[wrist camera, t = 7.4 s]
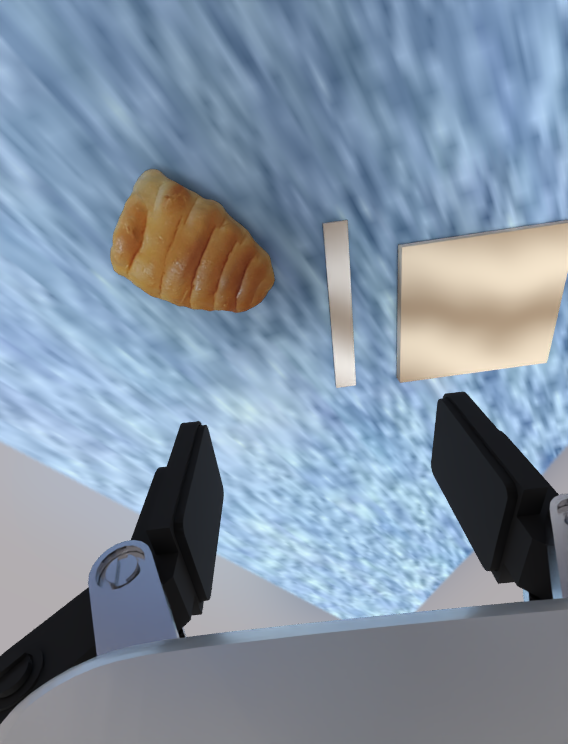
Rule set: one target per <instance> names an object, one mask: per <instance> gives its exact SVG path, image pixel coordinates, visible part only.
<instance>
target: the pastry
mask: <svg viewBox="0 0 568 744" xmlns="http://www.w3.org/2000/svg"><path fill="white" fill-rule="evenodd" d="M110 258H111V263H112V265H113V269H114V271H115V272H117V273H118V274H119V275H122V276H124V277H126V278H127V279H129V280H130V281H132V283H133V284H134V285H136V286H137V287H139V288H141V289H142V290H143V291H144V292H146V293H147V294H149V295H150V296H153V297H157V298H160V299H163V300H167V301H169V302H171V303H173V304H175V305H178V306H185V307H188V308H191V309H203V310H207V311H213V310H225V311H232V312H235V313H238V312H243V311H247V310H249V309H250V308H252V307H254V306H256V305H258V304H259V303H260V302H262V300H263V299H264V298H265V296H266V295H267V293H268V291H269V290H270V289H271V287H272V286H273V284H274V281H275V278H274V272H273V268H272V265H271V260H270V256H269V255H268V253H267V252H266V251H265V250H264V249H263V248H262V247H260V246H259V245H258V244H257V243H256V242H255V241H254V239H253V238H252V236H251V235H250V233H249V232H248V230H247V229H245V228H244V227H243V226H242V225H241V224H239V223H238V222H237V221H235V220H234V219H233V218H232V217H231V216H230V215H229V214H228V213H227V212H226V211H225V209H224V207H223V206H222V205H221V204H220V203H218V202H216V201H214V200H209V199H204V198H202V197H201V196H200V195H198V194H197V193H195V192H193V191H190V190H189V189H187V188H185V187H183V186H182V185H180V184H178V183H177V182H174V181H172V180H170V179H168V178H167V177H166V176H165V175H164V174H163V173H162V172H160V171H159V170H156V169H150V170H147V171H145V172H144V173H143V174H142V175H141V176H140V177H139V178H138V180H137V182H136V183H135V185H134V187H133V192H132V193H131V196H130V197H129V198H128V200H127V201H126V203H125V206H124V209H123V211H122V213H121V215H120V217H119V220H118V223H117V225H116V228H115V230H114V233H113V246H112V247H111V253H110Z"/></svg>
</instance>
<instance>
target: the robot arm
mask: <svg viewBox="0 0 568 744" xmlns="http://www.w3.org/2000/svg"><path fill="white" fill-rule="evenodd" d="M431 468H432V472H433V475H434V477H435V479H436V481H437V483H438V484H439V486H440V488H441V490H442V492H443V494H444V495H445V497H446V499H447V501H448V503H449V505H450V507H451V508H452V510H453V512H454V514H455V516H456V518H457V520H458V521H459V523H460V525H461V527H462V529H463V531H464V533H465V534H466V536H467V538H468V540H469V542H470V544H471V546H472V547H473V549H474V551H475V553H476V555H477V557H478V559H479V560H480V562H481V564H482V566H483V567H484V569H485V570H486V571H491V572H492V573H493V575H494V577H495V579H496V581H497V582H498V584H499V583H509V582H515V583H516V585H517V586H519V587H520V588H522V589H523V596H524V602H514V603H504V604H494V605H483V606H473V607H463V608H452V609H442V610H432V611H422V612H412V613H403V614H393V615H383V616H373V617H364V618H354V619H344V620H335V621H325V622H316V623H306V624H297V625H288V626H279V627H269V628H260V629H252V630H242V631H232V632H224V633H216V634H208V635H200V636H193V637H186V634H185V631H184V628H183V627H184V626H185V625H186V624H187V623H188V622H189V621H190V620H191V615H199V614H202V609H203V602H204V601H206V600H209V599H210V596H211V590H212V582H213V574H214V567H215V559H216V551H217V544H218V536H219V528H220V521H221V513H222V505H223V497H224V492H223V485H222V481H221V477H220V473H219V469H218V465H217V461H216V457H215V454H214V450H213V446H212V442H211V438H210V434H209V430H208V427H207V425H201V423H200V422H199V421H197V422H188V423H182V424H181V425H180V428H179V431H178V434H177V437H176V440H175V443H174V446H173V449H172V452H171V455H170V458H169V461H168V464H167V467H159V468H158V469H157V471H156V472H155V475H154V478H153V480H152V483H151V486H150V489H149V491H148V494H147V497H146V500H145V503H144V505H143V508H142V511H141V514H140V516H139V519H138V522H137V525H136V527H135V530H134V533H133V536H132V538H131V540H130V541H124V542H121V543H119V544H116V545H114V546H113V547H111V548H109V549H108V550H107V551H105V552H104V553H103V554H102V555H101V556H100V557H99V558H98V559H97V561H96V562H95V563H94V565H93V566H92V569H91V571H90V573H89V581H88V584H89V587H88V588H87V589H86V590H85V591H83V592H82V593H81V594H80V595H78V596H77V597H75V598H74V599H73V600H72V601H70V602H69V603H68V604H66V605H65V606H64V607H63V608H61V609H60V610H59V611H57V612H56V613H55V614H53V615H52V616H51V617H50V618H48V619H47V620H46V621H44V622H43V623H42V624H41V625H39V626H38V627H37V628H36V629H34V630H33V631H32V632H30V633H29V634H28V635H26V636H25V637H24V638H23V639H21V640H20V641H19V642H17V643H16V644H15V645H13V646H12V647H11V648H10V649H8V650H7V651H6V652H5V653H3V654H2V655H1V656H0V744H568V494H561V495H559V494H558V493H556V491H555V490H554V489H553V488H552V487H551V486H550V484H549V483H548V482H547V481H546V480H545V479H544V477H543V476H542V475H541V474H540V473H539V472H538V471H537V470H536V468H535V467H534V466H533V465H532V464H531V463H530V462H529V461H528V459H527V458H526V457H525V456H524V455H523V454H522V453H521V452H520V450H519V449H518V448H517V447H516V446H515V445H514V444H513V443H512V441H511V440H510V439H509V438H508V437H507V436H506V435H505V434H504V433H503V432H502V431H499V430H498V429H497V428H496V426H495V425H494V424H493V423H492V422H491V421H490V420H489V419H488V417H487V416H486V415H485V414H484V413H483V412H482V411H481V409H480V408H479V407H478V406H477V405H476V404H475V403H474V401H473V400H472V399H471V398H470V397H469V396H468V395H467V394H466V393H465V392H456V393H447V394H444V396H443V399H439V400H438V403H437V412H436V422H435V431H434V441H433V450H432V460H431Z"/></svg>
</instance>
